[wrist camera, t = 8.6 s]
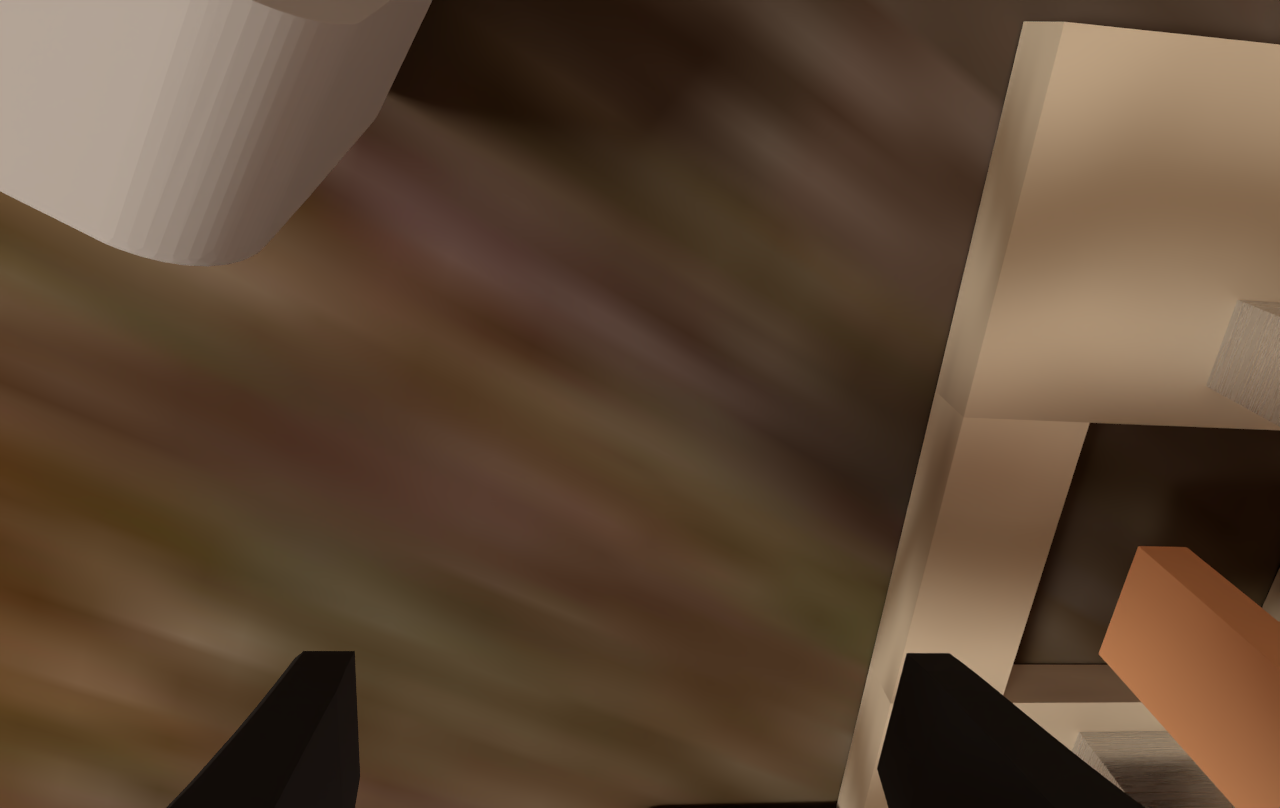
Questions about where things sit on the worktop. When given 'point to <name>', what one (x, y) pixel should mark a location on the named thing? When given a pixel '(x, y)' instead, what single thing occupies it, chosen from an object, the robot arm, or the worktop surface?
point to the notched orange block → (1202, 668)
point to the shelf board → (1077, 341)
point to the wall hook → (189, 112)
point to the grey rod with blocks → (1152, 760)
